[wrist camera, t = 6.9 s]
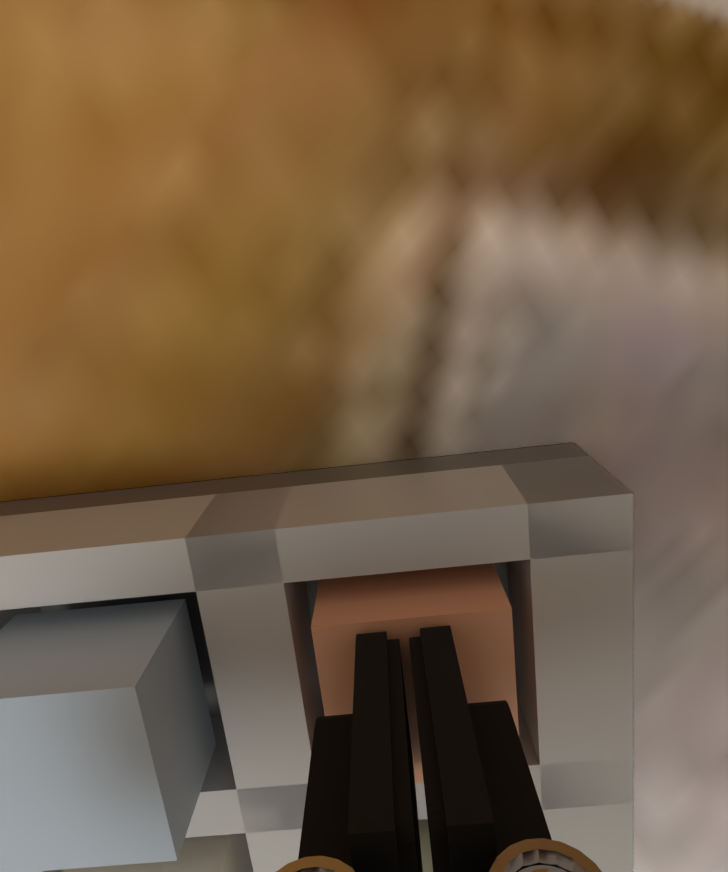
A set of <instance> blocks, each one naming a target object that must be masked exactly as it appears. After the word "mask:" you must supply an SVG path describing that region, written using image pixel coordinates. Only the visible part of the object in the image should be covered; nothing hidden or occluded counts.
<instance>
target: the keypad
mask: <svg viewBox="0 0 728 872" xmlns="http://www.w3.org/2000/svg"><path fill="white" fill-rule="evenodd" d="M488 563H493V564H494V566H495V569H496V571H497V574H498V576H499V579H500V581H501V583H502V586H503V588H504V591H505V593H506V596H507V598H508V600H509V603H510V605H511V608H512V620H513V637H514V655H515V672H516V690H517V707H518V725H519V738H520V741H521V745H522V748H523V751H524V754H525V757H526V760H527V763H528V766H529V770H530V773H531V776H532V779H533V782H534V785H535V788H536V792H537V795H538V798H539V801H540V804H541V807H542V810H543V814H544V817H545V820H546V823H547V826H548V829H549V832H550V835H551V839H552V840H555V841H560V842H563V843H565V844H567V845H569V846H571V847H574V848H576V849H578V850H580V851H581V852H582V853H583V854H585V855H586V856H587V857H588V858H590V859H591V860H592V861H593V862H594V863H596V865H597V866H598V867H599V869H600V870H601V871H602V872H633V756H634V493H633V492H632V491H630V490H629V489H628V488H627V487H626V486H624V485H623V484H622V483H621V482H620V481H619V480H617V479H616V478H615V477H614V476H613V475H611V474H610V473H609V472H608V471H607V470H606V469H604V468H603V467H602V466H601V465H600V464H599V463H597V462H596V461H595V460H594V459H593V458H591V457H590V456H589V455H588V454H587V453H586V452H584V451H583V450H582V449H581V448H580V447H578V446H577V445H576V444H575V443H566V444H556V445H546V446H537V447H527V448H517V449H508V450H498V451H489V452H479V453H469V454H460V455H450V456H440V457H431V458H421V459H412V460H402V461H392V462H383V463H373V464H363V465H354V466H344V467H335V468H325V469H315V470H306V471H296V472H286V473H277V474H267V475H258V476H248V477H238V478H229V479H219V480H209V481H200V482H190V483H181V484H171V485H161V486H152V487H142V488H132V489H123V490H113V491H104V492H94V493H84V494H75V495H65V496H55V497H46V498H36V499H27V500H17V501H7V502H0V630H1V629H2V628H3V627H4V626H5V625H6V624H7V623H8V622H9V621H10V620H11V619H12V618H13V617H14V616H15V615H20V614H31V613H41V612H52V611H62V610H73V609H83V608H93V607H104V606H114V605H125V604H135V603H146V602H156V601H167V600H177V599H186V604H187V608H188V613H189V618H190V623H191V627H192V632H193V637H194V641H195V646H196V651H197V656H198V660H199V665H200V670H201V675H202V679H203V684H204V689H205V694H206V698H207V703H208V708H209V713H210V717H211V722H212V727H213V732H214V736H215V741H216V746H215V749H214V752H213V755H212V758H211V761H210V764H209V767H208V770H207V773H206V776H205V779H204V782H203V785H202V788H201V791H200V794H199V797H198V800H197V803H196V806H195V809H194V812H193V815H192V818H191V821H190V824H189V827H188V830H187V833H186V836H185V838H189V837H202V836H215V835H228V834H241V833H246V838H247V843H248V848H249V853H250V857H251V862H252V867H253V872H276V871H278V870H279V869H281V868H282V867H283V866H285V865H286V864H288V863H290V862H293V861H296V860H298V856H299V848H300V840H301V832H302V824H303V816H304V808H305V800H306V792H307V784H308V776H309V767H310V759H311V751H312V743H313V735H314V727H315V722H316V719H317V717H321V716H325V715H324V709H323V702H322V696H321V689H320V683H319V676H318V670H317V663H316V657H315V650H314V644H313V637H312V631H311V624H312V618H313V613H314V607H315V601H316V596H317V590H318V584H319V580H321V579H332V578H342V577H352V576H363V575H373V574H384V573H394V572H405V571H415V570H425V569H436V568H446V567H457V566H467V565H478V564H488ZM415 787H416V799H417V810H418V820H420V819H428V818H427V809H426V799H425V790H424V782H422V783H415ZM63 870H64V869H62V870H49V871H35V872H63Z"/></svg>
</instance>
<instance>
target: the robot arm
mask: <svg viewBox="0 0 728 872" xmlns="http://www.w3.org/2000/svg"><path fill="white" fill-rule="evenodd" d="M409 645H410V655H411V664H412V674H413V684H414V693H415V703H416V713H417V722H418V732H419V741H420V751H421V761H422V770H423V780H424V790H425V799H426V809H427V818H428V828H429V837H430V847H431V856H432V865H433V872H602V871H601V870H600V869H599V867H598V866H597V865H596V863H594V862H593V861H592V860H591V859H590V858H588V857H587V856H586V855H585V854H583V853H582V852H581V851H580V850H578V849H576V848H574V847H571V846H569V845H567V844H565V843H563V842H560V841H555V840H552V839H551V835H550V832H549V829H548V826H547V823H546V820H545V817H544V814H543V810H542V807H541V804H540V801H539V798H538V795H537V792H536V788H535V785H534V782H533V779H532V776H531V773H530V770H529V766H528V763H527V760H526V757H525V754H524V751H523V748H522V745H521V741H520V738H519V735H518V732H517V729H516V726H515V723H514V719H513V716H512V713H511V710H510V707H509V705H508V702H507V701H506V700H502V701H490V702H479V703H468V702H467V698H466V693H465V689H464V684H463V680H462V676H461V671H460V667H459V662H458V658H457V653H456V649H455V644H454V640H453V636H452V631H451V627H450V625H448V626H437V627H426V628H420V637H411V638H409ZM276 872H423V868H422V856H421V845H420V833H419V822H418V810H417V799H416V787H415V777H414V767H413V758H412V749H411V740H410V731H409V722H408V713H407V704H406V695H405V686H404V677H403V668H402V660H401V651H400V642H399V639H389V640H388V639H387V632H386V631H384V632H373V633H362V634H356V644H355V669H354V693H353V714H344V715H332V716H321V717H317V719H316V722H315V727H314V735H313V743H312V751H311V759H310V767H309V776H308V784H307V792H306V800H305V808H304V816H303V824H302V832H301V840H300V848H299V856H298V860H296V861H293V862H290V863H288V864H286V865H285V866H283V867H282V868H281V869H279V870H278V871H276Z"/></svg>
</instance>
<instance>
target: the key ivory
mask: <svg viewBox="0 0 728 872" xmlns="http://www.w3.org/2000/svg"><path fill="white" fill-rule="evenodd" d="M63 872H253V867H252V862H251V857H250V853H249V848H248V843H247V838H246V833H241V834H228V835H215V836H202V837H189V838H185V839H184V842H183V845H182V848H181V851H180V854H179V857H178V860H177V861H166V862H153V863H140V864H127V865H114V866H101V867H88V868H75V869H64V870H63Z"/></svg>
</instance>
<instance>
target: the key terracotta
mask: <svg viewBox="0 0 728 872" xmlns="http://www.w3.org/2000/svg"><path fill="white" fill-rule="evenodd" d="M448 625H450V627H451V631H452V636H453V640H454V644H455V649H456V653H457V658H458V662H459V667H460V671H461V676H462V680H463V684H464V689H465V693H466V698H467V702H468V703H479V702H490V701H502V700H506V701H507V702H508V705H509V707H510V710H511V713H512V716H513V719H514V723H515V726H516V729H517V732H518V735H519V725H518V707H517V690H516V672H515V655H514V637H513V620H512V608H511V605H510V603H509V600H508V598H507V596H506V593H505V591H504V588H503V586H502V583H501V581H500V579H499V576H498V574H497V571H496V569H495V566H494V564H493V563H488V564H478V565H467V566H457V567H446V568H436V569H425V570H415V571H405V572H394V573H384V574H373V575H363V576H352V577H342V578H332V579H321V580H319V584H318V590H317V596H316V601H315V607H314V613H313V618H312V624H311V631H312V637H313V644H314V650H315V657H316V663H317V670H318V676H319V683H320V689H321V696H322V702H323V709H324V715H325V716H332V715H344V714H353V693H354V669H355V644H356V634H362V633H373V632H384V631H386V632H387V639H388V640H389V639H399V642H400V651H401V660H402V668H403V677H404V686H405V695H406V704H407V713H408V722H409V731H410V740H411V749H412V758H413V767H414V777H415V783H422V782H424V780H423V770H422V761H421V751H420V741H419V732H418V722H417V713H416V703H415V693H414V684H413V674H412V664H411V655H410V645H409V638H411V637H420V628H426V627H437V626H448Z"/></svg>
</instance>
